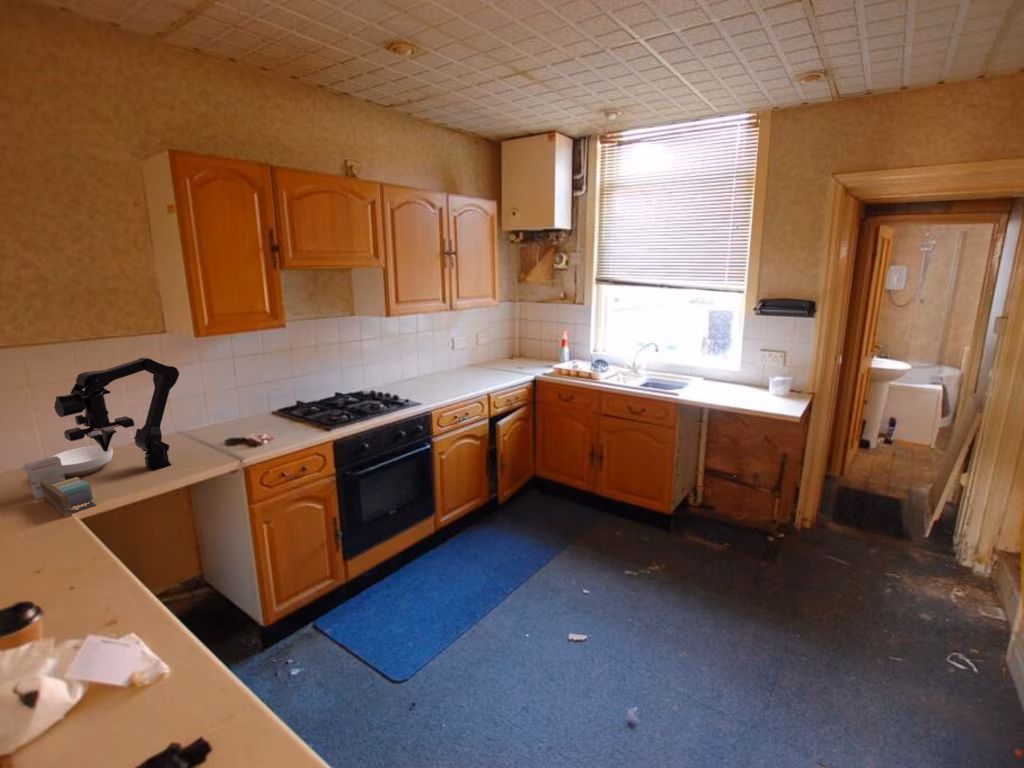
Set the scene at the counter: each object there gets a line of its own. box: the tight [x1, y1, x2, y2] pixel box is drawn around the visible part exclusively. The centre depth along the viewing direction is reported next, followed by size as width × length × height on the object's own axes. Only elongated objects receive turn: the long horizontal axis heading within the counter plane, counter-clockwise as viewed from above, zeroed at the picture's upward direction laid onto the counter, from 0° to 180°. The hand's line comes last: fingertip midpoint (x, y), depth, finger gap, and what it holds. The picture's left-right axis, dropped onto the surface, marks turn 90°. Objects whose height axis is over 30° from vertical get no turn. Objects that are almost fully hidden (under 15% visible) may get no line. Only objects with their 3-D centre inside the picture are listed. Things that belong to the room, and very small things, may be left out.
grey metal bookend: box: [67, 489, 97, 515], centre depth 172 cm, size 7×5×4 cm, turn 145°
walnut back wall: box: [40, 481, 73, 518], centre depth 171 cm, size 2×19×7 cm, turn 55°
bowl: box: [51, 445, 114, 477], centre depth 201 cm, size 20×20×6 cm
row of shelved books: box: [51, 476, 83, 489], centre depth 178 cm, size 8×6×6 cm
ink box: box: [24, 455, 66, 500], centre depth 182 cm, size 9×5×12 cm, turn 141°
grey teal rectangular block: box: [59, 480, 94, 501], centre depth 175 cm, size 8×4×6 cm, turn 145°
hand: (105, 451), depth 187 cm, fingers closed
